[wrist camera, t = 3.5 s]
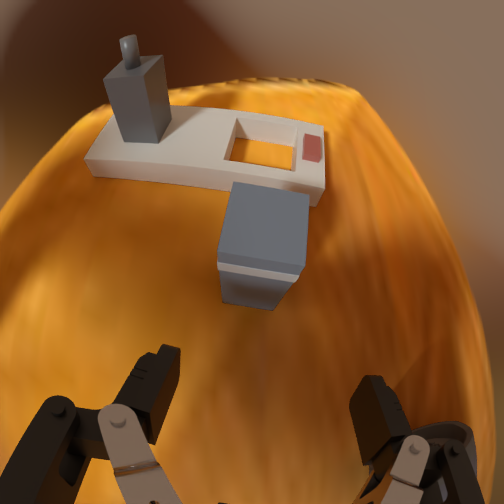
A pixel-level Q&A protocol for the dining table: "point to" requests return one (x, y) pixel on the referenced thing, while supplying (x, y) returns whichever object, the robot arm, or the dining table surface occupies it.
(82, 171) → the dining table surface
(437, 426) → the bluetooth speaker
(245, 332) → the dining table surface
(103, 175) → the strip
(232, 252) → the plug
